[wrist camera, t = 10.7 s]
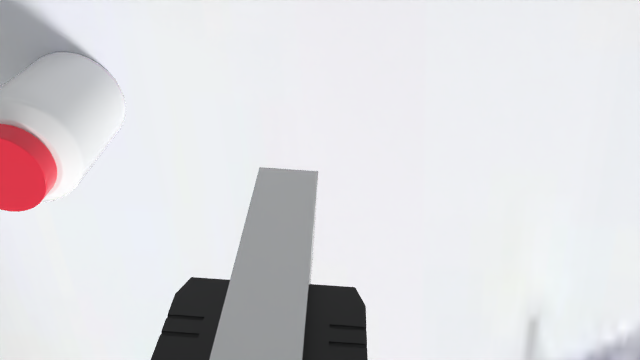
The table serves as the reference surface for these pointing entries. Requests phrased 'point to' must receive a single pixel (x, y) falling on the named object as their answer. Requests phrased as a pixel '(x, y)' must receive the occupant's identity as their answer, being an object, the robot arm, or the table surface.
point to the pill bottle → (54, 127)
